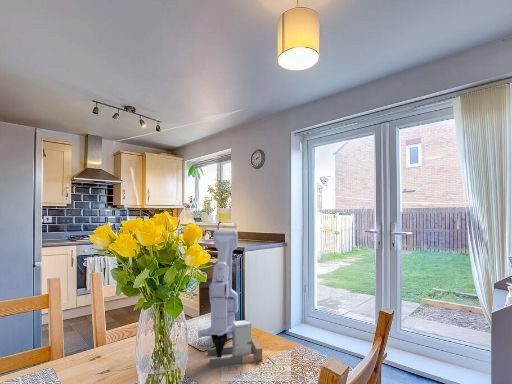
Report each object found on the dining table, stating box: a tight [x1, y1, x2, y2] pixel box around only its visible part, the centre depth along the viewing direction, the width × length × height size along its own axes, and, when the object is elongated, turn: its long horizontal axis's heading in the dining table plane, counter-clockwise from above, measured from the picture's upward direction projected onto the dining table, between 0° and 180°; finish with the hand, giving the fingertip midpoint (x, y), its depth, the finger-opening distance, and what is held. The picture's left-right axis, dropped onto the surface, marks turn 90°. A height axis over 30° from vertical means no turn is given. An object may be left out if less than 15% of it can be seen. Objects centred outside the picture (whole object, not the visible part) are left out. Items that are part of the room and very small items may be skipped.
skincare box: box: [231, 319, 252, 357], centre depth 107 cm, size 6×4×12 cm
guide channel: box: [207, 337, 263, 368], centre depth 107 cm, size 9×18×4 cm, turn 104°
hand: (218, 356), depth 106 cm, fingers closed
